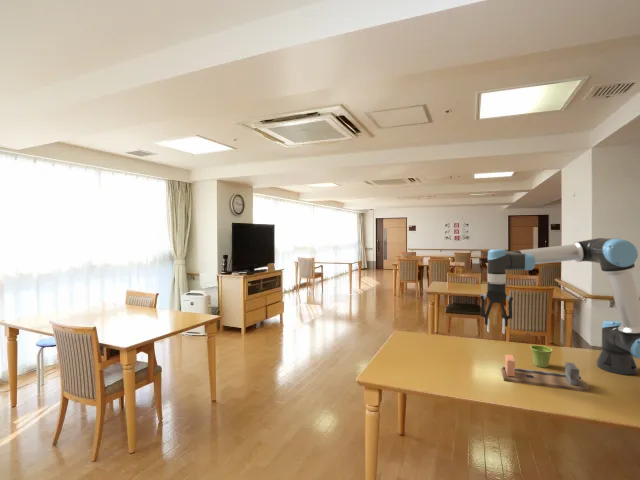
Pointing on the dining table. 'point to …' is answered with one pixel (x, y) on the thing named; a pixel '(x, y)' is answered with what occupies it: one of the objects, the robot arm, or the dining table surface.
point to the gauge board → (549, 378)
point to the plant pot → (541, 355)
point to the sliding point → (510, 365)
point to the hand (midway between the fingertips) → (495, 332)
